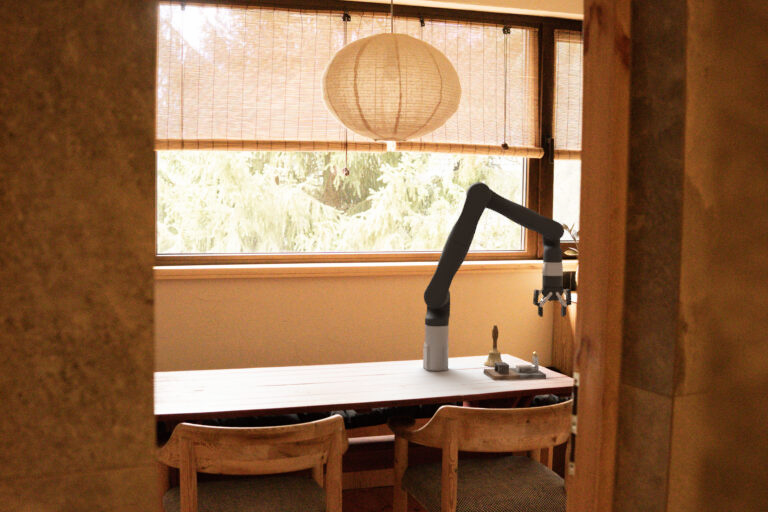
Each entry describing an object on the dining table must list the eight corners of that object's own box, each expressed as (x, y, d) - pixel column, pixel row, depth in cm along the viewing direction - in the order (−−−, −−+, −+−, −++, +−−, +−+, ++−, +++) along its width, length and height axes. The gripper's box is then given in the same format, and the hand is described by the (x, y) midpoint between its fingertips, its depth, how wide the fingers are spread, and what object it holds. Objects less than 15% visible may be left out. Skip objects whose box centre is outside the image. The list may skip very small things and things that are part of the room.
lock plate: (494, 380, 256) (494, 367, 256) (483, 373, 268) (483, 360, 267) (546, 378, 259) (546, 365, 259) (533, 371, 271) (533, 359, 271)
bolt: (518, 371, 262) (518, 352, 262) (515, 370, 265) (516, 351, 264) (538, 371, 264) (539, 352, 263) (536, 369, 266) (536, 351, 266)
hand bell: (508, 364, 284) (508, 325, 283) (499, 367, 277) (500, 327, 276) (488, 362, 289) (489, 323, 288) (480, 365, 282) (481, 325, 281)
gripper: (537, 275, 263) (536, 318, 264) (574, 274, 265) (573, 317, 265) (531, 273, 271) (530, 315, 272) (567, 273, 272) (566, 315, 273)
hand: (552, 316), depth 269 cm, fingers open, 8 cm apart
